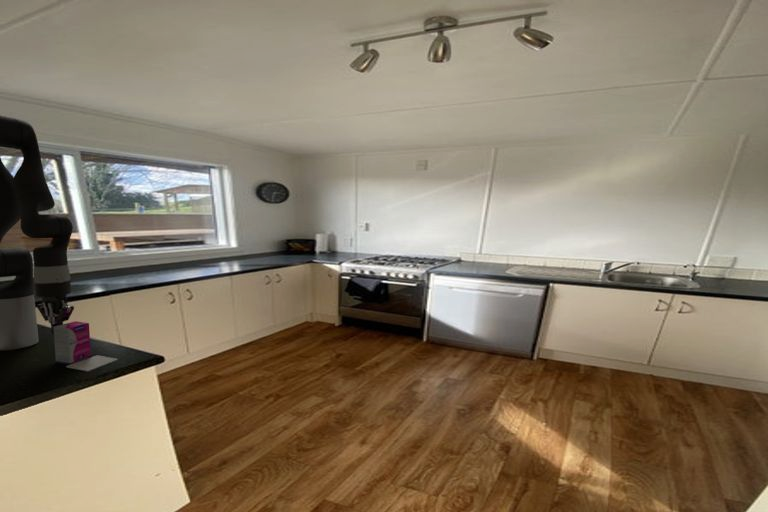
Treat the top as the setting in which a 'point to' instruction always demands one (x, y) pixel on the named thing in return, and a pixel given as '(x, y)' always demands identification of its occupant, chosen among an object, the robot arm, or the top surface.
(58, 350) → the supplement box
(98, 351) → the top surface
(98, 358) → the mat
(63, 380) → the top surface
